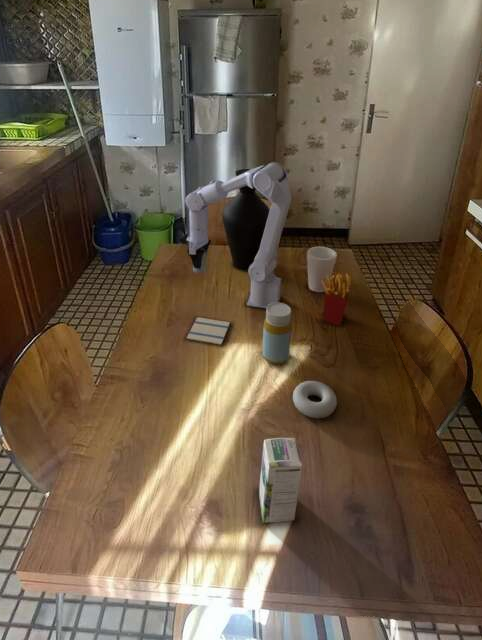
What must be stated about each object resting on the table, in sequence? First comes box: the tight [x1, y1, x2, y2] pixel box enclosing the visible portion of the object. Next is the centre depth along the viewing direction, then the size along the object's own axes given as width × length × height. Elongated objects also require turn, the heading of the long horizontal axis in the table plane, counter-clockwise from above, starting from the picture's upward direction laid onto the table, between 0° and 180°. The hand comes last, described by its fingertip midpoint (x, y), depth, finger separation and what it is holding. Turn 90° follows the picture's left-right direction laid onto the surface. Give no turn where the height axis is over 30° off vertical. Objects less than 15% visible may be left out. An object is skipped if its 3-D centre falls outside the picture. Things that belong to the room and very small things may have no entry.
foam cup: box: [306, 246, 338, 293], centre depth 144 cm, size 10×9×13 cm
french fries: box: [321, 273, 352, 326], centre depth 128 cm, size 9×8×15 cm
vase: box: [221, 168, 270, 271], centre depth 152 cm, size 17×17×35 cm
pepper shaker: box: [192, 247, 207, 274], centre depth 143 cm, size 4×4×8 cm
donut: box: [292, 380, 338, 419], centre depth 100 cm, size 10×4×10 cm
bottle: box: [261, 302, 292, 365], centre depth 112 cm, size 7×7×15 cm
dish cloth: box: [186, 316, 231, 346], centre depth 124 cm, size 10×10×1 cm
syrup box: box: [258, 437, 303, 524], centre depth 76 cm, size 6×6×14 cm
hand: (199, 264), depth 144 cm, fingers closed on pepper shaker, 4 cm apart
